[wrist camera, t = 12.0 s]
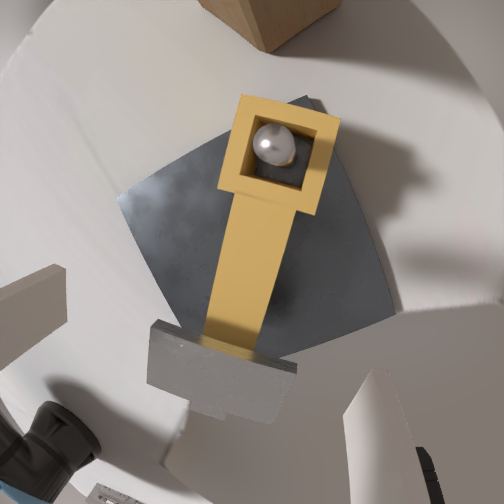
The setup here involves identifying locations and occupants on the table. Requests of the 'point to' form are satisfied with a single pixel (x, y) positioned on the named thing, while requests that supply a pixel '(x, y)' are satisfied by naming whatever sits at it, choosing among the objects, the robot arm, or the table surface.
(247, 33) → the wooden block
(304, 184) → the link
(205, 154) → the base
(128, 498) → the cassette
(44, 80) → the table surface
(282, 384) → the block
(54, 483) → the robot arm
